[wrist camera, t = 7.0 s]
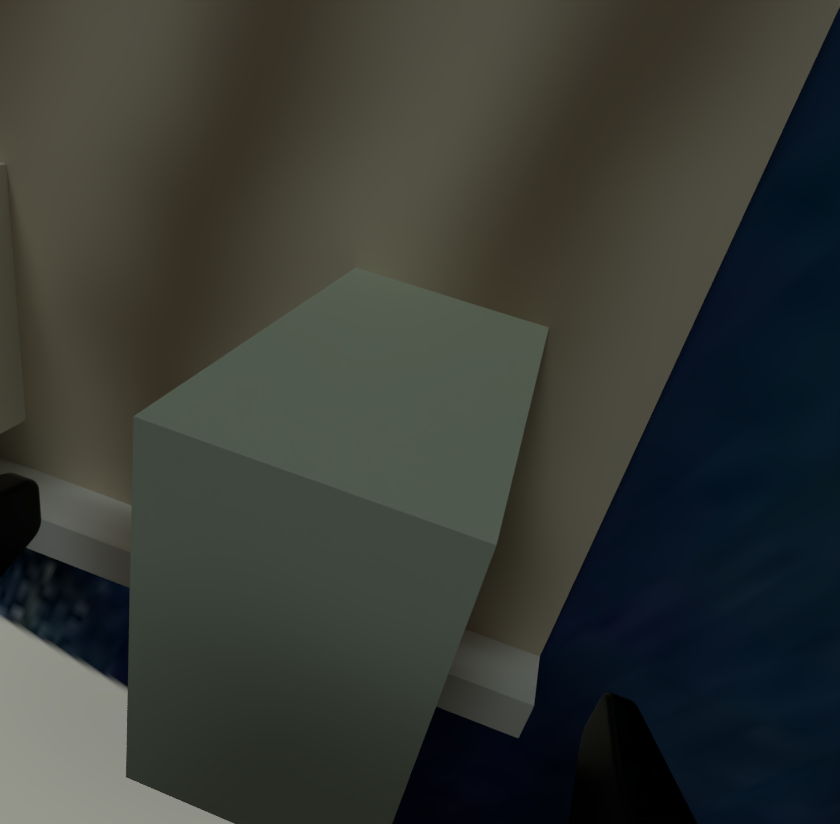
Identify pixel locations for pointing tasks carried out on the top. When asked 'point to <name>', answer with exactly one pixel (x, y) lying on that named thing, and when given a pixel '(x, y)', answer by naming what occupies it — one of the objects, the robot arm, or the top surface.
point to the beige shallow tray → (380, 227)
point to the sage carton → (318, 548)
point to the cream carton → (9, 322)
